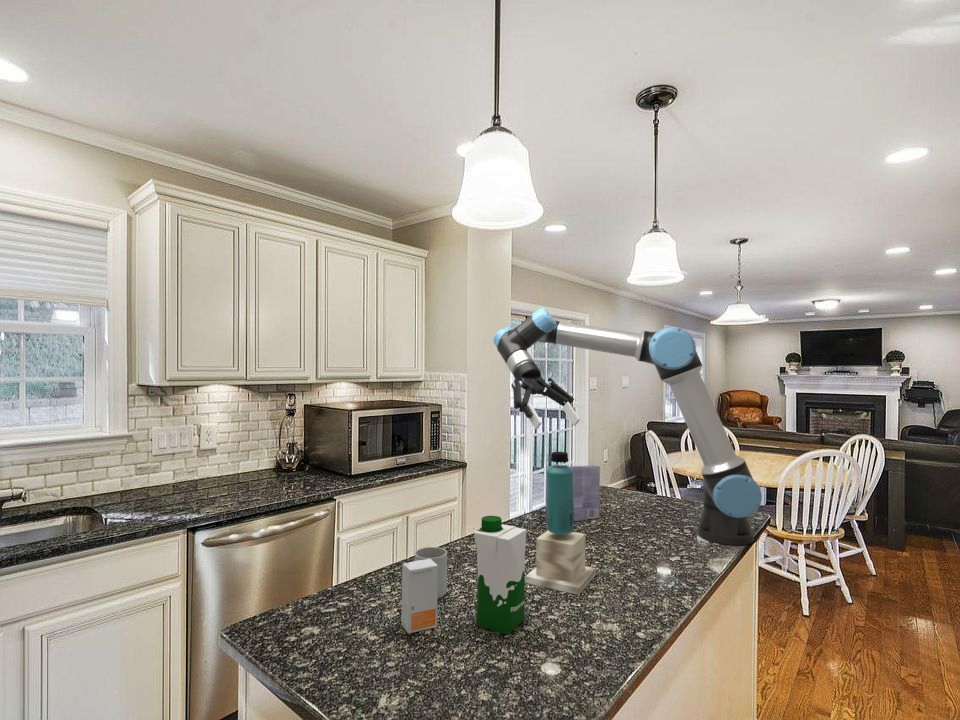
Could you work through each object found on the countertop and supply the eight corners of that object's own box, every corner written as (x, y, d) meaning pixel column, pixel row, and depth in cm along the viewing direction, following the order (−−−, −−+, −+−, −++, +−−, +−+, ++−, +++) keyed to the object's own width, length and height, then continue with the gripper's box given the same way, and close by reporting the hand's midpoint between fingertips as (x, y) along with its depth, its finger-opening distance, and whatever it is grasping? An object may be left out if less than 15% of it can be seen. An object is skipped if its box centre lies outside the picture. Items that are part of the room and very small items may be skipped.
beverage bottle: (574, 541, 118) (573, 454, 118) (545, 539, 119) (544, 453, 120) (574, 532, 124) (574, 450, 125) (546, 531, 126) (546, 449, 126)
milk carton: (492, 608, 107) (492, 511, 107) (531, 619, 102) (531, 518, 102) (469, 625, 99) (469, 522, 100) (510, 639, 94) (510, 529, 95)
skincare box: (408, 635, 96) (408, 570, 96) (400, 625, 99) (401, 562, 100) (438, 627, 98) (438, 564, 99) (430, 618, 102) (430, 557, 103)
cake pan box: (595, 515, 176) (595, 463, 176) (603, 519, 171) (603, 465, 171) (544, 520, 169) (544, 466, 170) (551, 524, 165) (551, 469, 165)
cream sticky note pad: (596, 574, 124) (595, 532, 125) (579, 594, 113) (579, 549, 113) (545, 564, 131) (545, 524, 131) (525, 582, 119) (525, 539, 119)
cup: (453, 593, 114) (453, 552, 114) (417, 607, 107) (417, 564, 107) (433, 583, 119) (433, 544, 119) (397, 596, 112) (397, 555, 112)
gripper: (550, 377, 161) (585, 429, 148) (484, 379, 148) (515, 436, 135) (561, 360, 157) (598, 412, 144) (494, 360, 144) (527, 418, 131)
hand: (558, 424), depth 139 cm, fingers open, 13 cm apart
